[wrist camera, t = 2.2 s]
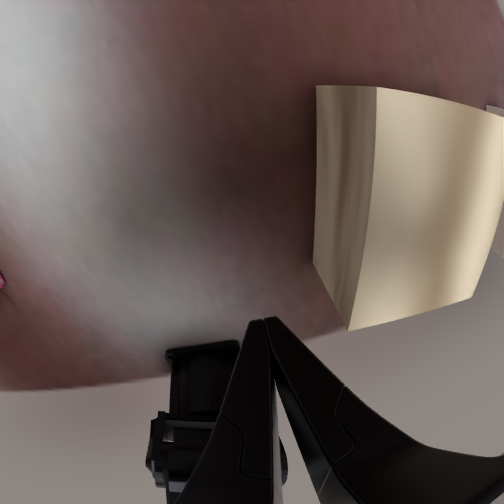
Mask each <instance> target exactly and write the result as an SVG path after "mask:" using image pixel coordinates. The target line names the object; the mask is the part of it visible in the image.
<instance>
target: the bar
mask: <svg viewBox="0 0 504 504" xmlns="http://www.w3.org/2000/svg"><path fill="white" fill-rule="evenodd" d="M486 112H489V113H492V114H495V115H498V116H501V117H504V109H501V108H498V107H493V106H489V105H486ZM490 248H491V249H492V250H493V251H494V252H495V253H497V254H498V255H499V256H500V257H501V258H502V259H504V201H503V206H502V210H501V213H500V217H499V221H498V224H497V228H496V231H495V235H494V238H493V241H492V244H491V247H490Z"/></svg>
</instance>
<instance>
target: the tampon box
mask: <svg viewBox="0 0 504 504" xmlns="http://www.w3.org/2000/svg"><path fill="white" fill-rule="evenodd" d="M4 284H5V282H4V280H3V278H2V276H1V274H0V291H1V289H2V288H3V286H4Z"/></svg>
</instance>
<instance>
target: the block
mask: <svg viewBox="0 0 504 504" xmlns="http://www.w3.org/2000/svg"><path fill="white" fill-rule="evenodd" d="M316 110H317V170H316V207H315V230H314V249H313V265H314V267H315V268H316V270H317V272H318V274H319V276H320V278H321V280H322V282H323V284H324V286H325V287H326V289H327V291H328V293H329V295H330V297H331V299H332V301H333V303H334V305H335V307H336V309H337V311H338V313H339V315H340V317H341V319H342V321H343V323H344V325H345V327H346V329H347V331H352V330H355V329H361V328H365V327H369V326H374V325H378V324H381V323H386V322H389V321H394V320H398V319H401V318H405V317H409V316H413V315H416V314H420V313H423V312H427V311H430V310H433V309H437V308H440V307H443V306H446V305H450V304H453V303H456V302H459V301H462V300H465V299H468V298H471V297H472V294H473V292H474V290H475V287H476V285H477V282H478V280H479V277H480V275H481V272H482V270H483V267H484V264H485V262H486V258H487V256H488V253H489V250H490V247H491V244H492V241H493V238H494V235H495V231H496V228H497V224H498V221H499V217H500V213H501V210H502V206H503V201H504V117H501V116H498V115H495V114H492V113H489V112H486V111H483V110H480V109H477V108H474V107H470V106H467V105H463V104H460V103H456V102H452V101H448V100H444V99H440V98H436V97H431V96H427V95H422V94H417V93H412V92H406V91H400V90H394V89H388V88H381V87H369V86H342V85H316Z"/></svg>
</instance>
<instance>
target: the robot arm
mask: <svg viewBox="0 0 504 504" xmlns="http://www.w3.org/2000/svg"><path fill="white" fill-rule="evenodd" d="M233 346H235V347H233ZM165 358H166V360H167V362H168V364H169V365H170V367H171V385H170V386H171V387H170V408H169V413H165V411H158V418H156V419H154V420H151V431H150V440H149V446H148V451H147V456H146V467H147V468H148V469H149V470H150V471H151V472H152V474H153V478H155V483H156V487H160V488H166V497H167V504H283V498H282V485H284V484H285V482H286V479H287V475H288V463H287V457H286V453H285V450H284V447H283V445H282V442H281V439H280V437H279V431H278V415H277V401H276V388H275V383H276V387H277V390H278V392H279V395H280V398H281V401H282V404H283V406H284V409H285V412H286V414H287V417H288V420H289V422H290V425H291V428H292V431H293V433H294V436H295V438H296V441H297V444H298V447H299V449H300V452H301V454H302V457H303V460H304V462H305V465H306V468H307V470H308V473H309V475H310V478H311V480H312V483H313V485H314V488H315V491H316V493H317V496H318V498H319V501H320V503H321V504H504V453H502V454H501V455H500V456H497V457H482V456H475V455H469V454H463V453H457V452H451V451H446V450H441V449H437V448H432V447H429V446H426V445H424V444H422V443H420V442H418V441H416V440H414V439H413V438H411V437H410V436H408V435H407V434H405V433H404V432H403V431H401V430H400V429H398V428H397V427H395V426H394V425H393V424H391V423H390V422H388V421H387V420H386V419H384V418H383V417H381V416H380V415H379V414H377V413H376V412H375V411H374V410H372V409H371V408H370V407H368V406H367V405H366V404H365V403H364V402H363V401H362V400H360V399H359V398H358V397H357V396H356V395H355V394H354V393H353V392H352V391H351V390H350V389H349V388H348V387H347V386H346V387H345V385H344V383H342V382H341V381H340V380H339V379H338V378H337V377H336V376H335V375H334V374H333V373H332V372H331V371H330V370H329V369H328V368H327V367H326V366H325V365H324V364H323V363H322V362H321V361H320V360H319V359H318V358H317V357H316V356H315V355H314V354H313V353H312V352H311V351H310V350H309V349H308V348H307V347H306V346H305V345H304V344H303V343H302V342H301V341H300V340H299V339H298V338H297V337H296V336H295V334H294V333H293V332H292V331H291V330H290V329H289V328H288V327H287V326H286V325H285V324H284V323H283V322H282V321H281V320H280V319H279V318H278V317H276V316H273V317H268V318H264V320H262V319H257V320H252V321H250V322H249V323H248V326H247V329H246V332H245V335H244V339H243V342H242V345H241V347H240V344H239V342H237V341H230V342H224V343H217V344H211V345H204V346H197V347H190V348H183V349H175V350H168V351H166V353H165ZM274 379H275V380H274ZM168 440H170V441H173V442H168Z"/></svg>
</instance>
